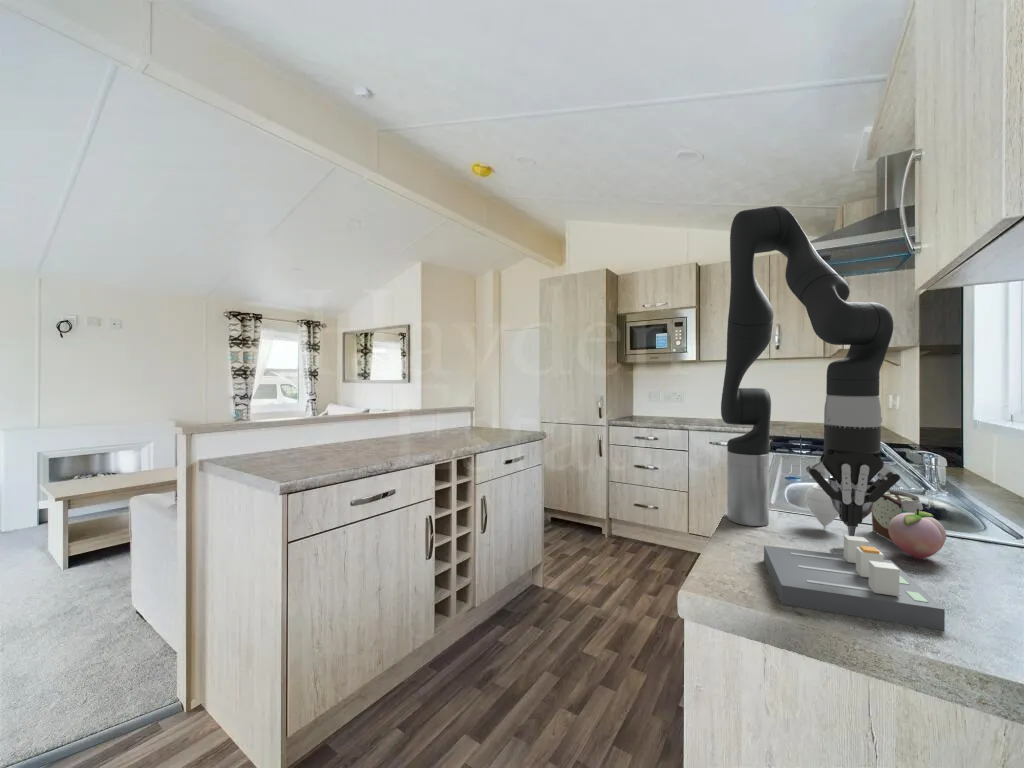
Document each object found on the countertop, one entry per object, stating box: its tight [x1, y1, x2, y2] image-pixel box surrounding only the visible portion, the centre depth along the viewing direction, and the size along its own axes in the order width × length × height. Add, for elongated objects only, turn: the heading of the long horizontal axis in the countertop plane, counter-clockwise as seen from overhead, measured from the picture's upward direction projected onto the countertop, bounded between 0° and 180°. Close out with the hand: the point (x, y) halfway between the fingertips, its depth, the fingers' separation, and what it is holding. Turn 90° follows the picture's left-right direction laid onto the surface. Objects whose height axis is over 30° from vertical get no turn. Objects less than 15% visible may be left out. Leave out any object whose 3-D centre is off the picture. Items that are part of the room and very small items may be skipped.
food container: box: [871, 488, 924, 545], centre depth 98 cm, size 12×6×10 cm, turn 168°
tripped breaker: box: [856, 545, 885, 577], centre depth 73 cm, size 2×3×4 cm
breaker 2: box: [869, 561, 900, 596], centre depth 68 cm, size 2×3×4 cm
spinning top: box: [804, 478, 839, 530], centre depth 104 cm, size 8×8×12 cm
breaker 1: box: [843, 534, 870, 563], centre depth 79 cm, size 2×3×4 cm
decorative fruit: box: [888, 509, 947, 560], centre depth 88 cm, size 9×8×10 cm
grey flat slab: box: [763, 545, 946, 631], centre depth 75 cm, size 18×20×3 cm
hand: (850, 524), depth 74 cm, fingers closed
